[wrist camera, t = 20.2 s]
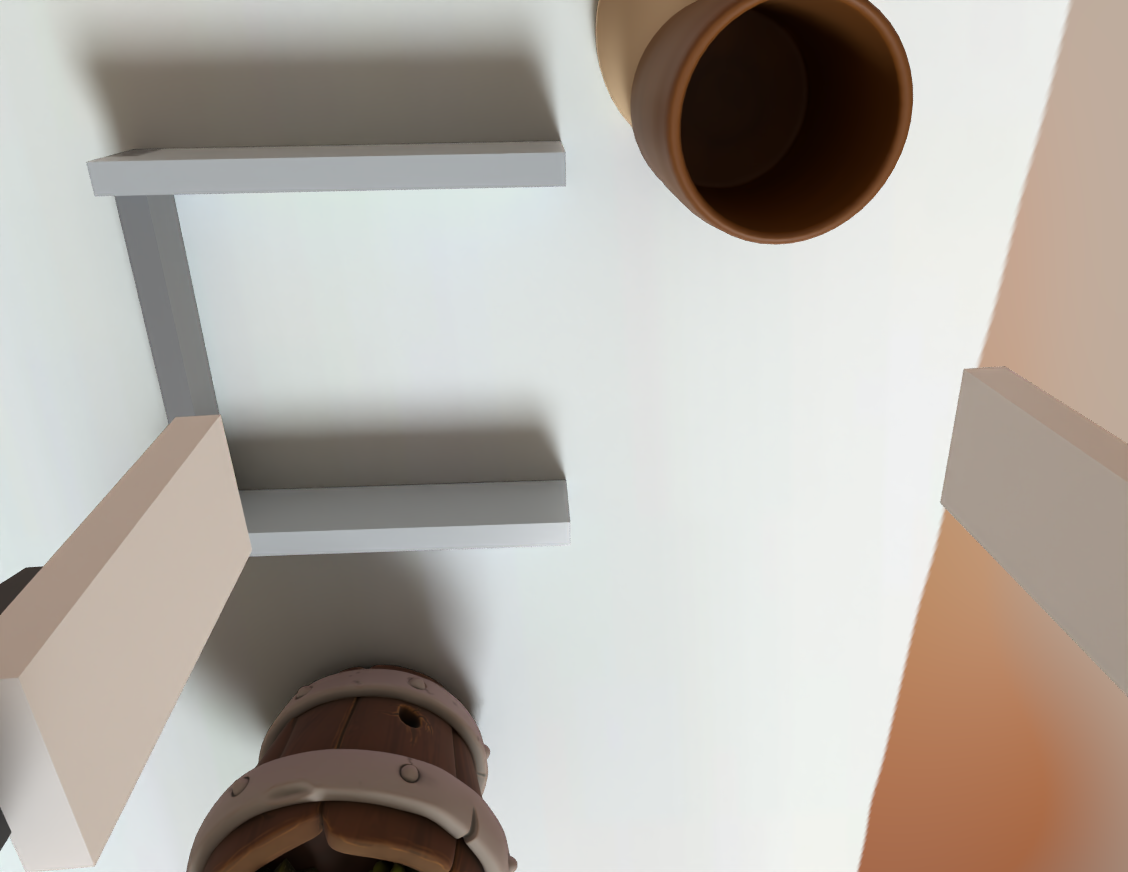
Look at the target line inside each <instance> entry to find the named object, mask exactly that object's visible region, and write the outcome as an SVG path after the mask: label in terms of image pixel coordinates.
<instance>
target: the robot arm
mask: <svg viewBox="0 0 1128 872" xmlns="http://www.w3.org/2000/svg"><path fill="white" fill-rule="evenodd" d="M940 503H941V504H942V505H943V506H944V507H945V508H946V509H947V510H948V511H949V512H950V513H951V514H952V515H953V516H954V518H955V519H956V520H957V521H958V522H959V523H960V524H961V525H962V526H963V527H964V528H965V529H966V530H967V531H968V532H969V533H970V534H971V535H972V536H973V537H974V538H975V539H976V540H977V541H978V542H979V543H980V544H981V546H983V548H984V549H986V551H987V552H988V553H989V554H990V555H991V556H992V557H993V558H994V559H995V560H996V561H997V562H998V563H999V564H1000V565H1001V566H1002V567H1003V568H1004V569H1005V570H1006V571H1007V572H1008V573H1009V574H1010V576H1011V577H1013V579H1014V580H1015V581H1016V582H1017V583H1018V584H1019V585H1020V586H1021V587H1022V588H1023V589H1024V590H1025V591H1026V592H1027V593H1028V594H1029V595H1030V596H1031V597H1032V598H1033V599H1034V600H1035V601H1036V602H1037V603H1038V604H1039V605H1040V607H1041V608H1042V609H1043V610H1045V612H1046V613H1047V614H1048V615H1049V616H1050V617H1051V618H1052V619H1053V620H1054V621H1055V622H1056V623H1057V624H1058V625H1059V626H1060V627H1061V628H1062V629H1063V630H1064V631H1065V632H1066V633H1067V635H1069V637H1070V638H1071V639H1072V640H1073V641H1074V642H1075V643H1076V644H1077V645H1078V646H1079V647H1080V648H1081V649H1082V650H1083V651H1084V652H1085V653H1086V654H1087V655H1088V656H1089V657H1090V658H1091V659H1092V660H1093V661H1094V662H1095V663H1096V665H1097V666H1098V667H1099V668H1100V669H1102V671H1103V672H1104V673H1105V674H1106V675H1107V676H1108V677H1109V678H1110V679H1111V680H1112V681H1113V682H1114V683H1115V684H1116V685H1117V686H1118V687H1119V688H1120V689H1121V690H1122V691H1123V692H1124V693H1125V695H1126V696H1127V697H1128V444H1127V443H1126V442H1124V441H1123V440H1121V439H1120V438H1118V437H1116V436H1115V435H1113V434H1112V433H1110V432H1109V431H1107V430H1105V429H1104V428H1102V427H1101V426H1099V425H1097V424H1096V423H1094V422H1092V421H1091V420H1090V419H1088V418H1086V417H1085V416H1083V415H1082V414H1080V413H1078V412H1077V411H1075V410H1074V409H1072V408H1070V407H1069V406H1067V405H1066V404H1064V403H1062V402H1061V401H1059V400H1058V399H1056V398H1054V397H1053V396H1051V395H1050V394H1048V393H1047V392H1045V391H1043V390H1042V389H1040V388H1039V387H1037V386H1036V385H1034V384H1032V383H1031V382H1029V381H1028V380H1026V379H1024V378H1023V377H1021V376H1020V375H1018V374H1017V373H1015V372H1013V371H1012V370H1010V369H1009V368H1007V367H1005V366H1004V367H988V368H971V369H964V370H963V376H962V382H961V387H960V393H959V399H958V405H957V410H956V416H955V422H954V427H953V433H952V439H951V444H950V450H949V456H948V462H947V467H946V473H945V479H944V484H943V490H942V496H941V501H940ZM251 551H252V547H251V543H250V539H249V534H248V530H247V526H246V521H245V517H244V513H243V508H242V504H241V500H240V496H239V491H238V487H237V483H236V478H235V474H234V470H233V465H232V461H231V457H230V453H229V448H228V444H227V440H226V435H225V431H224V427H223V422H222V418H221V415H205V416H188V417H175V418H174V419H173V421H172V422H171V423H170V424H169V425H168V426H167V427H166V428H165V430H164V431H163V432H162V433H161V434H160V435H159V436H158V438H157V439H156V440H155V441H154V442H153V443H152V444H151V445H150V447H149V448H148V449H147V450H146V451H145V452H144V453H143V454H142V456H141V457H140V458H139V459H138V460H137V461H136V462H135V463H134V465H133V466H132V467H131V468H130V469H129V470H128V471H127V473H126V474H125V475H124V476H123V477H122V478H121V479H120V480H119V482H118V483H117V484H116V485H115V486H114V487H113V488H112V489H111V491H110V492H109V493H108V494H107V495H106V496H105V497H104V498H103V500H102V501H101V502H100V503H99V504H98V505H97V506H96V508H95V509H94V510H93V511H92V512H91V513H90V514H89V515H88V517H87V518H86V519H85V520H84V521H83V522H82V523H81V524H80V526H79V527H78V528H77V529H76V530H75V531H74V532H73V533H72V535H71V536H70V537H69V538H68V539H67V540H66V541H65V543H64V544H63V545H62V546H61V547H60V548H59V549H58V550H57V552H56V553H55V554H54V555H53V556H52V557H51V558H50V559H49V561H48V562H47V563H46V564H45V565H44V566H43V567H28V568H25V569H23V570H21V571H20V572H18V573H17V574H15V575H14V576H12V577H10V578H9V579H7V580H6V581H4V582H3V583H1V584H0V850H1V849H2V847H3V846H4V844H5V842H6V841H7V839H8V838H9V837H10V839H11V841H12V843H13V845H14V848H15V850H16V852H17V854H18V856H19V859H20V861H21V863H22V865H23V867H24V870H25V872H37V871H49V870H61V869H72V868H84V867H95V865H96V863H97V861H98V859H99V857H100V855H101V853H102V851H103V849H104V847H105V845H106V843H107V841H108V839H109V837H110V835H111V833H112V831H113V829H114V827H115V825H116V823H117V821H118V819H119V817H120V815H121V813H122V811H123V809H124V807H125V805H126V803H127V801H128V799H129V797H130V795H131V793H132V791H133V789H134V787H135V785H136V783H137V781H138V779H139V777H140V775H141V772H142V770H143V768H144V766H145V764H146V762H147V760H148V758H149V756H150V754H151V752H152V750H153V748H154V746H155V744H156V742H157V740H158V738H159V736H160V734H161V732H162V730H163V728H164V726H165V724H166V722H167V720H168V718H169V716H170V714H171V712H172V710H173V708H174V706H175V704H176V702H177V700H178V698H179V696H180V694H181V692H182V690H183V688H184V686H185V684H186V682H187V680H188V678H189V676H190V674H191V672H192V670H193V668H194V666H195V664H196V662H197V660H198V658H199V656H200V654H201V652H202V650H203V648H204V646H205V644H206V642H207V640H208V638H209V636H210V634H211V632H212V630H213V628H214V626H215V624H216V622H217V620H218V618H219V616H220V614H221V612H222V610H223V608H224V606H225V604H226V602H227V600H228V598H229V596H230V594H231V592H232V590H233V588H234V586H235V584H236V582H237V580H238V578H239V576H240V574H241V572H242V570H243V568H244V566H245V564H246V562H247V560H248V558H249V555H250V553H251Z"/></svg>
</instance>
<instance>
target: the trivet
mask: <svg viewBox="0 0 1128 872" xmlns="http://www.w3.org/2000/svg"><path fill="white" fill-rule="evenodd" d="M695 1H697V0H599V1H598V6H597V13H596V29H595V31H596V49H597V54H598V60H599V66H600V69H601V72H602V76H603V79H604V82H605V85H606V87H607V89H608V91H609V94H610V96H611V98H612V100H613V102H614V103H615V105H616V106H617V108H618V110H619V111H620V113H621V114H622V116H623V117H624V118H625V119H626V120H627V122H628V123H629V124H630V125H631V126H632V121H631V109H630V100H631V90H632V84H633V80H634V75H635V72H636V69H637V66H638V63H639V61H640V59H641V57H642V55H643V53H644V51H645V49H646V47H647V45H648V44H649V42H650V41H651V39H652V38H653V36H654V35H655V34H656V33H657V31H658V30H659V29H660V28H661V27H662V25H664V24H665V23H666V22H667V21H668V20H669V19H670V18H671V17H672V16H673V15H675V14H676V13H677V12H679V11H680V10H682V9H683V8H684V7H686V6H688V5H690V4H692V3H693V2H695Z"/></svg>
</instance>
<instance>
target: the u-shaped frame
mask: <svg viewBox="0 0 1128 872" xmlns="http://www.w3.org/2000/svg"><path fill="white" fill-rule="evenodd" d="M86 163H87V167H88V171H89V175H90V179H91V183H92V187H93V191H94V195H95V196H115V200H116V204H117V208H118V213H119V217H120V221H121V225H122V229H123V234H124V238H125V242H126V246H127V250H128V255H129V259H130V263H131V267H132V272H133V276H134V280H135V284H136V288H137V293H138V297H139V301H140V305H141V309H142V314H143V318H144V322H145V326H146V331H147V335H148V339H149V343H150V347H151V352H152V356H153V360H154V364H155V368H156V373H157V377H158V381H159V385H160V389H161V394H162V398H163V402H164V406H165V411H166V415H167V419H168V423H169V424H170V423H171V422H172V421H173V419H174V418H175V417H188V416H205V415H219V411H218V406H217V402H216V397H215V392H214V387H213V382H212V378H211V373H210V368H209V363H208V358H207V354H206V349H205V344H204V339H203V334H202V330H201V325H200V320H199V315H198V310H197V305H196V301H195V296H194V291H193V286H192V281H191V277H190V272H189V267H188V262H187V257H186V253H185V248H184V243H183V238H182V233H181V229H180V224H179V219H178V214H177V209H176V205H175V200H174V195H178V194H225V193H272V192H319V191H366V190H413V189H459V188H506V187H553V186H566V160H565V150H564V147H563V145H562V142H561V141H530V142H479V143H428V144H377V145H326V146H275V147H224V148H172V149H133V150H129V151H125V152H121V153H118V154H114V155H110V156H106V157H103V158H99V159H95V160H91V161H88V162H86ZM239 496H240V500H241V504H242V508H243V513H244V517H245V521H246V526H247V530H248V534H249V539H250V543H251V547H252V551H251V553H250V555H249V556H278V555H306V554H334V553H363V552H391V551H419V550H448V549H476V548H504V547H532V546H561V545H570V515H569V505H568V494H567V484H566V480H547V481H517V482H486V483H456V484H425V485H395V486H364V487H334V488H303V489H273V490H242V491H239Z"/></svg>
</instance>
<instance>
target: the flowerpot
mask: <svg viewBox="0 0 1128 872" xmlns="http://www.w3.org/2000/svg"><path fill="white" fill-rule="evenodd" d="M489 755H490V750H489V748H488V746H486V745H484V743H483V740H482V736H481V733H480V731H479V728H478V726H477V724H476V723H475V721H474V719H473V718H472V716H471V715H470V713H469V712H468V711H467V709H466V708H465V707H464V706H463V705H462V703H461V702H460V701H458V700H457V699H456V698H455V697H454V696H453V695H452V694H450V693H449V692H448V691H446V689H445V688H444V687H443V686H442V685H441V684H440V683H438V682H437V681H435V680H434V679H432V678H430V677H428V676H426V675H424V674H422V673H419V672H416V671H413V670H410V669H407V668H403V667H398V666H392V665H375V666H373V667H371V668H370V669H365V668H362V667H353V668H349V669H346V670H343V671H341V672H339V673H337V674H333V675H330V676H327V677H324V678H322V679H320V680H317V681H316V682H314V683H312V684H310V685H309V686H304V687H301V688H300V689H299V690H298V692H297V694H296V695H295V696H294V697H293V698H292V699H291V700H290V701H289V703H288V704H287V705H286V706H285V707H284V709H283V710H282V711H281V713H280V714H279V715H278V717H277V718H276V719H275V721H274V722H273V724H272V725H271V727H270V728H269V730H268V732H267V734H266V736H265V738H264V741H263V743H262V746H261V750H260V755H259V763H258V764H257V766H256V767H255V768H254V769H252V770H251V771H249V772H247V773H246V774H244V775H243V776H242V777H240V778H239V779H238V780H236V781H235V782H234V783H233V784H232V785H231V786H230V787H229V788H228V789H227V790H226V791H225V792H224V793H223V794H222V796H221V797H220V798H219V799H218V801H217V802H216V803H215V804H214V806H213V807H212V809H211V810H210V812H209V813H208V815H207V816H206V818H205V819H204V821H203V823H202V825H201V827H200V829H199V831H198V833H197V835H196V837H195V840H194V843H193V846H192V849H191V852H190V856H189V861H188V865H187V871H186V872H514V871H515V870H516V869H517V861H516V860H515V859H514V858H513V857H511V856H510V854H509V849H508V845H507V840H506V836H505V833H504V831H503V829H502V826H501V825H500V823H499V821H498V819H497V818H496V816H495V815H494V813H493V812H492V810H491V809H490V808H489V806H488V805H487V804H486V802H485V801H484V800H483V799H482V794H483V792H484V789H485V786H486V782H487V776H488V765H487V758H488V757H489Z"/></svg>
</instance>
